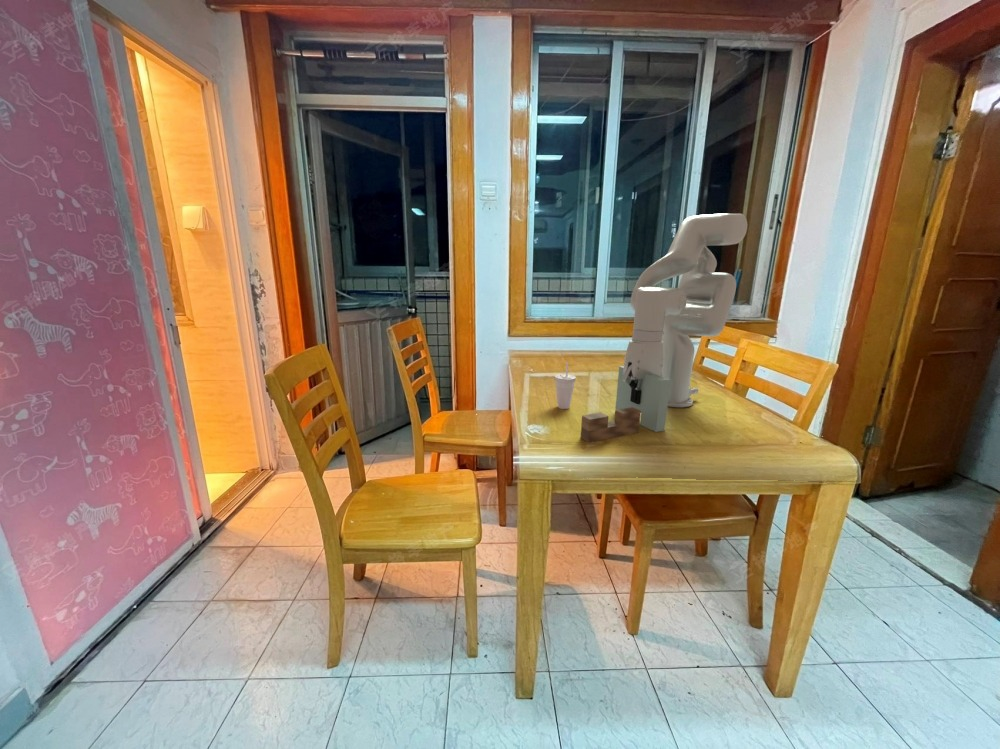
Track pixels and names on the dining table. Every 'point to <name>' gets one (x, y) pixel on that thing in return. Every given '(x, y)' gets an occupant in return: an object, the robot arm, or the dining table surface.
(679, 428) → the dining table surface
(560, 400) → the smoothie
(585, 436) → the brown long block
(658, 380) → the cross plate
